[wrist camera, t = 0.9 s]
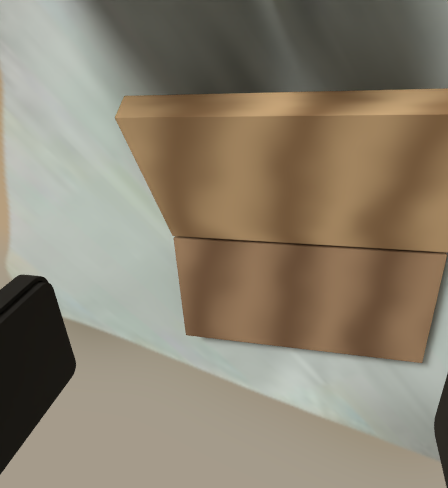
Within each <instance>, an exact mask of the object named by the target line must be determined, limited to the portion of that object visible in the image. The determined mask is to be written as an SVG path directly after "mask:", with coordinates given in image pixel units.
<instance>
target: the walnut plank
mask: <svg viewBox="0 0 448 488" xmlns="http://www.w3.org/2000/svg"><path fill="white" fill-rule="evenodd" d="M174 245H175V253H176V260H177V268H178V276H179V284H180V292H181V300H182V307H183V315H184V323H185V331H186V335H190V336H198V337H206V338H215V339H223V340H232V341H240V342H249V343H257V344H266V345H274V346H283V347H291V348H300V349H308V350H317V351H325V352H334V353H342V354H351V355H359V356H368V357H376V358H385V359H393V360H401V361H410V362H418V363H422V361H423V357H424V352H425V348H426V344H427V340H428V335H429V331H430V327H431V322H432V318H433V314H434V309H435V305H436V301H437V297H438V292H439V288H440V284H441V279H442V275H443V271H444V266H445V262H446V258H447V254H446V252H433V251H416V250H399V249H383V248H366V247H350V246H333V245H316V244H300V243H283V242H267V241H250V240H233V239H217V238H200V237H184V236H175V237H174Z"/></svg>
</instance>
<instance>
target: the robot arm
mask: <svg viewBox="0 0 448 488" xmlns="http://www.w3.org/2000/svg"><path fill="white" fill-rule="evenodd" d="M75 368H76V361H75V358H74V354H73V351H72V348H71V344H70V341H69V338H68V335H67V332H66V328H65V325H64V322H63V318H62V315H61V312H60V309H59V305H58V302H57V299H56V296H55V292H54V289H53V287H52V285H51V284H49V283H48V281H47V280H46V279H45V278H44V277H41V276H32V275H19V276H17V277H15V278H14V279H13V280H12V281H11V282H9V283H8V284H7V285H6V286H4V287H3V288H2V289H1V290H0V474H1V473H2V471H3V470H4V469H5V467H6V466H7V465H8V463H9V462H10V460H11V459H12V458H13V456H14V455H15V454H16V452H17V451H18V450H19V448H20V447H21V446H22V444H23V443H24V441H25V440H26V438H27V437H28V436H29V435H30V433H31V432H32V431H33V429H34V428H35V426H36V425H37V424H38V422H39V421H40V420H41V418H42V417H43V415H44V414H45V413H46V412H47V410H48V409H49V407H50V406H51V405H52V403H53V402H54V401H55V399H56V398H57V397H58V395H59V394H60V392H61V391H62V390H63V388H64V387H65V386H66V384H67V383H68V382H69V380H70V379H71V378H72V376H73V374H74V372H75ZM434 430H435V437H436V442H437V446H438V451H439V455H440V460H441V464H442V468H443V473H444V477H445V481H446V486H447V488H448V374H447V378H446V381H445V385H444V388H443V392H442V395H441V398H440V402H439V405H438V409H437V412H436V416H435V422H434Z"/></svg>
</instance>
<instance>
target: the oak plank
mask: <svg viewBox="0 0 448 488" xmlns="http://www.w3.org/2000/svg"><path fill="white" fill-rule="evenodd" d="M115 119H116V121H117V123H118V125H119V127H120V129H121V131H122V133H123V135H124V138H125V140H126V142H127V144H128V146H129V148H130V150H131V152H132V154H133V156H134V158H135V160H136V162H137V164H138V166H139V168H140V170H141V172H142V174H143V176H144V178H145V180H146V182H147V184H148V186H149V188H150V190H151V192H152V194H153V197H154V199H155V201H156V203H157V205H158V207H159V209H160V211H161V213H162V215H163V217H164V219H165V221H166V223H167V225H168V227H169V229H170V231H171V233H172V235H173V236H184V237H200V238H217V239H233V240H250V241H267V242H283V243H300V244H316V245H333V246H350V247H366V248H383V249H399V250H416V251H433V252H448V89H405V90H362V91H318V92H275V93H232V94H188V95H145V96H124V98H123V100H122V102H121V105H120V107H119V109H118V112H117V114H116V116H115Z"/></svg>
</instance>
